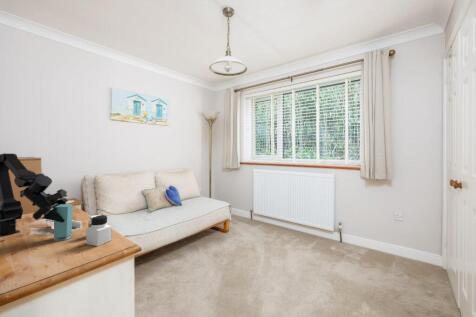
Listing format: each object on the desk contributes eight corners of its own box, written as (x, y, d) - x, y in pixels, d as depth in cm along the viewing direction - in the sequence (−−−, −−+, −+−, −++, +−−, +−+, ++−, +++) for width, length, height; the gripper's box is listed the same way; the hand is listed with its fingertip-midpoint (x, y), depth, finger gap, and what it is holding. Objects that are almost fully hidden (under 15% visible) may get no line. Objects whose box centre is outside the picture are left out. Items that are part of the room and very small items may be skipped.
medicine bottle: (111, 240, 101) (112, 215, 101) (97, 246, 95) (97, 219, 94) (100, 238, 104) (100, 213, 103) (85, 244, 97) (86, 217, 97)
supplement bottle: (101, 232, 111) (101, 214, 110) (101, 236, 106) (101, 216, 106) (88, 234, 108) (88, 215, 107) (88, 238, 103) (88, 218, 103)
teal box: (53, 237, 99) (54, 206, 99) (59, 233, 104) (60, 204, 104) (66, 236, 101) (67, 206, 101) (71, 233, 106) (72, 204, 105)
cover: (45, 221, 115) (45, 215, 115) (60, 217, 121) (60, 211, 121) (58, 223, 112) (58, 217, 111) (72, 219, 118) (72, 213, 118)
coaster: (49, 239, 100) (49, 238, 100) (65, 234, 107) (65, 233, 107) (60, 242, 98) (60, 241, 98) (76, 236, 105) (76, 235, 105)
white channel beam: (50, 229, 113) (50, 222, 113) (65, 225, 120) (65, 218, 120) (68, 232, 109) (68, 225, 109) (82, 228, 116) (82, 221, 116)
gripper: (41, 188, 92) (72, 212, 95) (63, 182, 110) (88, 203, 113) (18, 207, 90) (50, 232, 93) (44, 197, 108) (70, 219, 111)
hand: (66, 220), depth 103 cm, fingers closed on teal box, 5 cm apart
